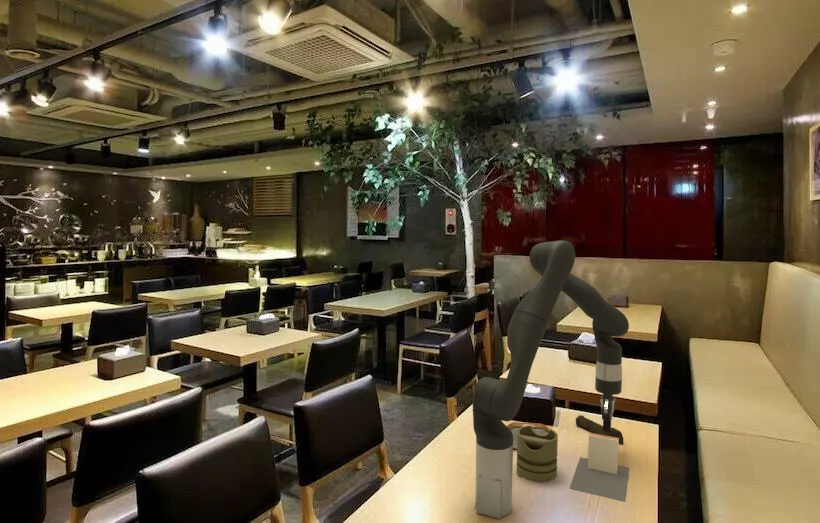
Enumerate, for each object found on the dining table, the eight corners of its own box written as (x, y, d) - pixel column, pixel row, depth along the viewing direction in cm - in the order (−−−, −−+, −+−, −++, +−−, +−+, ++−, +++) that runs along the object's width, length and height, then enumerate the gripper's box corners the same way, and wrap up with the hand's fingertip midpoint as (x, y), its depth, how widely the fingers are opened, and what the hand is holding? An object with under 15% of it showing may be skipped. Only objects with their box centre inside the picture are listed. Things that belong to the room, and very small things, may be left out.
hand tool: (574, 426, 176) (574, 414, 176) (583, 424, 178) (583, 412, 178) (616, 449, 159) (617, 435, 159) (625, 446, 161) (626, 432, 160)
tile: (617, 474, 142) (618, 440, 141) (587, 468, 146) (588, 435, 145) (617, 471, 144) (618, 438, 143) (588, 465, 147) (589, 432, 146)
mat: (625, 503, 128) (625, 501, 128) (569, 490, 134) (569, 488, 134) (629, 468, 146) (629, 467, 146) (580, 458, 152) (580, 457, 152)
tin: (550, 448, 159) (551, 422, 159) (552, 452, 156) (553, 426, 156) (503, 445, 161) (503, 420, 160) (504, 450, 158) (504, 424, 157)
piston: (522, 422, 150) (560, 429, 145) (521, 460, 151) (559, 468, 146) (513, 437, 140) (554, 445, 135) (512, 478, 141) (553, 487, 136)
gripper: (620, 384, 144) (618, 441, 145) (623, 371, 156) (621, 425, 157) (593, 380, 147) (591, 436, 149) (598, 368, 159) (596, 420, 160)
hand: (606, 430), depth 153 cm, fingers closed
